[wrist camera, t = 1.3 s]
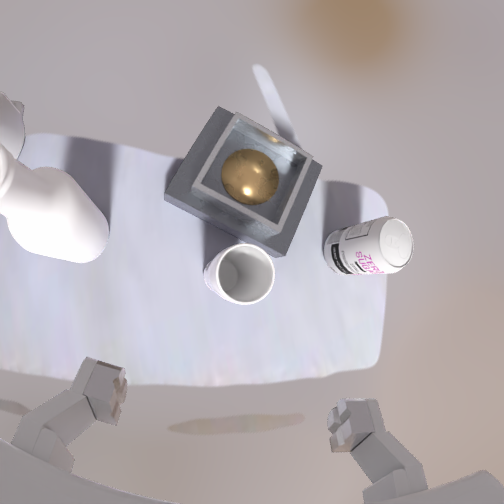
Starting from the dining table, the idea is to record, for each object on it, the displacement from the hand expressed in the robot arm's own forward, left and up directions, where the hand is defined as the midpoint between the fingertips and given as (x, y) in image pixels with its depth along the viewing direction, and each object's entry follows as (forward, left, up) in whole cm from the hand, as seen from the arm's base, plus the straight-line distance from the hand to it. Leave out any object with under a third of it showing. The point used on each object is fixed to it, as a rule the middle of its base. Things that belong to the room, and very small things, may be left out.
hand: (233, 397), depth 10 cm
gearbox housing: (+1, +22, -36) cm, 42 cm away
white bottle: (-18, +3, -36) cm, 41 cm away
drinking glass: (+4, +7, -36) cm, 37 cm away
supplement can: (+22, +20, -36) cm, 47 cm away
